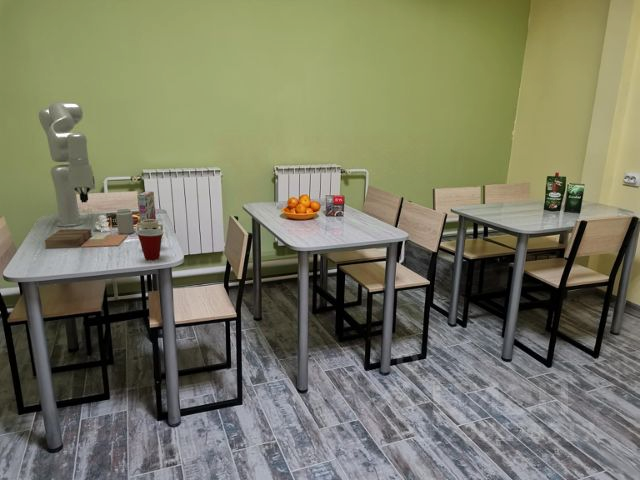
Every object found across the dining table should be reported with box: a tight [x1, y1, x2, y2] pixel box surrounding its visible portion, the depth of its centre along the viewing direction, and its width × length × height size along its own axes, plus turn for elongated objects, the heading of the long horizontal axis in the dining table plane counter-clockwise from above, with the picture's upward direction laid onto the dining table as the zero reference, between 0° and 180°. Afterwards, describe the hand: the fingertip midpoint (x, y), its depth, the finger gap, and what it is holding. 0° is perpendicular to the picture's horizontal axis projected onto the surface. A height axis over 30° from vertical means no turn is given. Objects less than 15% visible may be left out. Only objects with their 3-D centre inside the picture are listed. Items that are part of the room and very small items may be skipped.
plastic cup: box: [136, 229, 164, 261], centre depth 201 cm, size 11×11×12 cm
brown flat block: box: [44, 228, 93, 249], centre depth 224 cm, size 18×14×4 cm
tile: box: [88, 233, 110, 243], centre depth 225 cm, size 9×6×2 cm, turn 6°
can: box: [115, 208, 135, 235], centre depth 239 cm, size 8×8×12 cm
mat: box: [80, 234, 129, 248], centre depth 226 cm, size 18×16×1 cm
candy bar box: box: [137, 191, 157, 226], centre depth 259 cm, size 11×5×16 cm, turn 178°
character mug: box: [136, 218, 164, 232], centre depth 213 cm, size 11×7×13 cm, turn 111°
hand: (84, 201), depth 220 cm, fingers closed
